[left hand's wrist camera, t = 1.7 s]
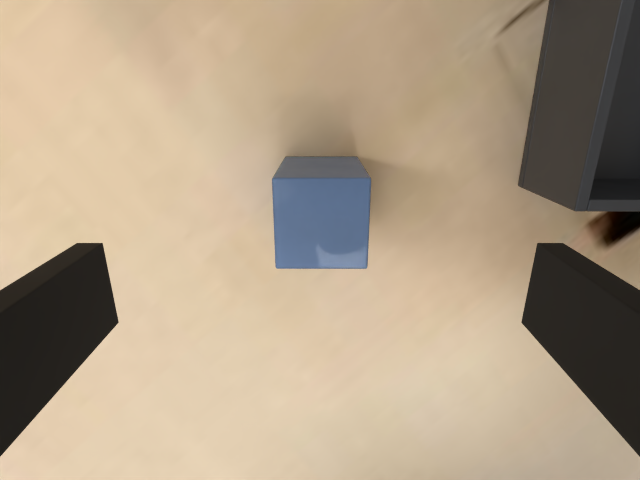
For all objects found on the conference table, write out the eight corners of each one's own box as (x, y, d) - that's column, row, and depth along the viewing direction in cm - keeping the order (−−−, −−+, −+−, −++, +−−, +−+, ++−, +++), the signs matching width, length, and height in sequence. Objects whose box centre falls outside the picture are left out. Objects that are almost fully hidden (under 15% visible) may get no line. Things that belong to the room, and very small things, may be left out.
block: (355, 226, 26) (367, 269, 19) (287, 225, 26) (275, 269, 19) (357, 156, 25) (371, 177, 18) (285, 156, 25) (271, 177, 18)
